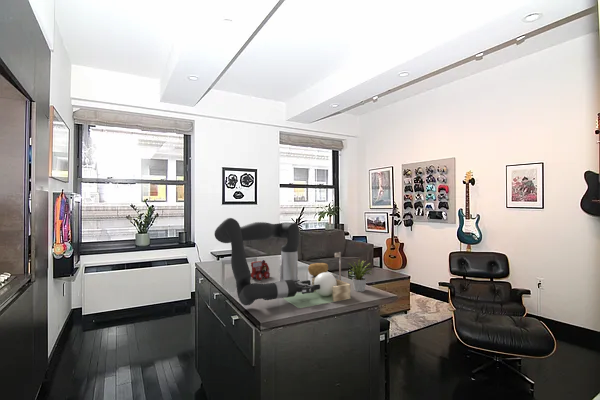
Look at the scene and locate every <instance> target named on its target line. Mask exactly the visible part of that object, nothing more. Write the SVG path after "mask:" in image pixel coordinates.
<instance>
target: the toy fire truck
mask: <svg viewBox="0 0 600 400" xmlns="http://www.w3.org/2000/svg"><path fill="white" fill-rule="evenodd" d="M250 267H251V272H250V273H251V279H256V280H258V281H261V280H263V278H264V279H270V276H271V273H270V267H269V264H268V263H267V262H266V259H265V260H264V259H263V260H260V261H259V260H258V261H257V260H256V261H251V263H250Z"/></svg>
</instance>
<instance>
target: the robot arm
mask: <svg viewBox="0 0 600 400" xmlns="http://www.w3.org/2000/svg"><path fill="white" fill-rule="evenodd" d="M214 238H215V239H216V241H218V242H220V243H222V244H230V246H231V247H230V248H231V257H230V264H231V265H230V266H231V270H232V273H233V277H234V279H235V286H236V293H237V298H238V301H239V302H240V303H241V305H244V306H250V305H252V304H253V303H254V302H255V301H257V300H261V299H262V300H263V301H272V300H279V299H283V298H288V297H293V296H295V295H296V293H301V292H302V294H306V293H313V292H314V290H319V289H320V285H319V284H317V285H312V280H310V279H309V280H300V279H299V276H298V271H299V269H298V268H299V267H298V264H299V263H298V262H299V261H298V256H299V255H298V252H299V251H298V250H299V244H300V228H299V225H298V224H297V223H295V222H279V223H270V222H266V221H265V222H264V221H257V222H252V223H251V222H250V223H248V224H245V225H243V226H241V225H240V223H239V221H237V220H236V219H235V218H232V217H228V218H226V219H224V220H223V221H222V222H221V223H220V224H219V225H218V226H217V227H216V228H215V230H214ZM272 238H280V239H285V240H287V241H286V243H285V244H283V245H281V249H280V250H281V251H280V252H281V253H280V254H281V255H280V257H281V261H280V262H281V263H280V264H279V280H278V281H274V282H268V283H261V282H260V283H258V282H257V283H255V282H253V283H252V281H251V280H252V277H251V273H252V272H251V270H250V267H249V265H248V261H247V257H246V253H245V247H244V241H245V242H246V241H250V242H251V241H267V240H270V239H272Z"/></svg>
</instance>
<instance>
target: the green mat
mask: <svg viewBox="0 0 600 400" xmlns="http://www.w3.org/2000/svg"><path fill="white" fill-rule="evenodd" d="M282 299H283V300H285V301H286V302H288V303H290V304H291V305H293V306H294V307H296V308H297V309H303V308H310V307H314V306H319V305H325V304H330V303H335V302H337V301H335V302H334V301H333V294H331V295H329V296H322V295H320V294H318V293H317V292H316V291H314V292H313V293H306V294H302V292H297V293H296V295H295V296H293V297H288V298H282ZM350 299H351V300H352V297H350ZM350 299H349V300H350ZM345 300H347V299H345ZM345 300H344V301H345ZM340 301H342V300H340ZM340 301H339V302H340Z"/></svg>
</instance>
